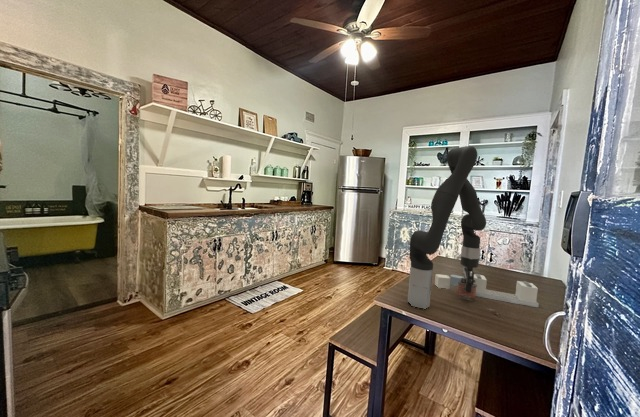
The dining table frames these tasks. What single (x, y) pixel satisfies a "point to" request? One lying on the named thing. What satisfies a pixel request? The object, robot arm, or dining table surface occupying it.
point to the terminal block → (455, 279)
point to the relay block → (442, 281)
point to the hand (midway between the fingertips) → (466, 288)
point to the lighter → (462, 290)
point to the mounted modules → (523, 289)
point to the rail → (505, 297)
